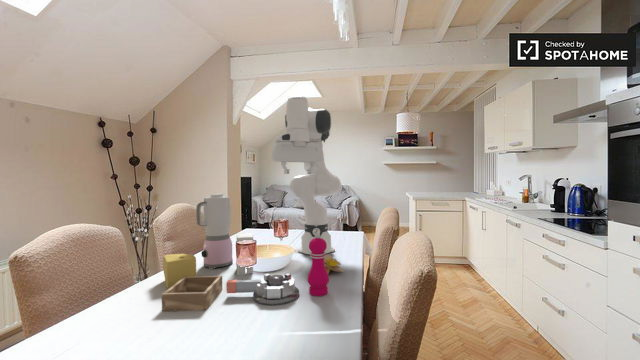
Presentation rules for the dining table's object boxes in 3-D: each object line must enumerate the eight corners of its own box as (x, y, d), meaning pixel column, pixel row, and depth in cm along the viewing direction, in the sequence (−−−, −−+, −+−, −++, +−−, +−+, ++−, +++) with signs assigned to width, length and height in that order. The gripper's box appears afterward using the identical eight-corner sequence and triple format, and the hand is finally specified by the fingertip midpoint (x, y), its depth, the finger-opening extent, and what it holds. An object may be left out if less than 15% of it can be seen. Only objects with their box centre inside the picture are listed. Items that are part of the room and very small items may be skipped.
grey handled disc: (295, 283, 101) (295, 271, 101) (293, 297, 89) (293, 284, 89) (232, 285, 100) (232, 273, 100) (221, 299, 88) (221, 286, 88)
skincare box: (236, 270, 121) (235, 233, 121) (252, 268, 123) (251, 232, 123) (237, 276, 113) (236, 237, 113) (254, 274, 115) (253, 236, 115)
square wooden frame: (184, 290, 99) (184, 276, 99) (222, 290, 100) (222, 275, 100) (162, 311, 84) (161, 294, 84) (206, 310, 85) (206, 293, 85)
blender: (223, 260, 136) (222, 193, 136) (238, 265, 128) (237, 193, 128) (190, 268, 124) (189, 195, 124) (204, 274, 116) (203, 195, 116)
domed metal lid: (258, 287, 102) (257, 270, 102) (300, 286, 102) (299, 269, 102) (248, 306, 87) (248, 286, 87) (297, 304, 87) (297, 285, 87)
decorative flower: (344, 279, 109) (344, 253, 109) (315, 279, 109) (314, 253, 109) (342, 266, 124) (342, 243, 124) (316, 267, 124) (316, 244, 124)
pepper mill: (327, 297, 92) (326, 236, 92) (305, 296, 94) (304, 235, 94) (330, 289, 99) (330, 231, 99) (310, 287, 101) (309, 231, 101)
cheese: (192, 275, 115) (192, 251, 115) (197, 284, 106) (197, 257, 106) (163, 281, 109) (162, 255, 109) (165, 290, 100) (165, 262, 100)
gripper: (319, 140, 117) (319, 174, 117) (270, 137, 109) (270, 174, 109) (325, 138, 112) (326, 173, 111) (274, 135, 103) (275, 173, 103)
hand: (298, 174), depth 110 cm, fingers open, 8 cm apart
